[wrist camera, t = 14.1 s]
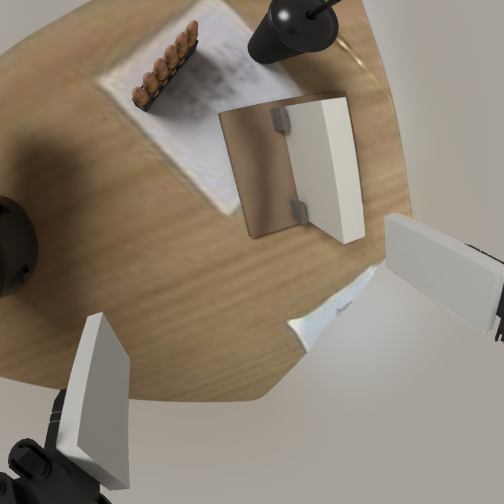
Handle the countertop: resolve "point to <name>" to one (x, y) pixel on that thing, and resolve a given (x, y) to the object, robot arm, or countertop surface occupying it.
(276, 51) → the drinking cup
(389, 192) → the countertop surface
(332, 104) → the door panel
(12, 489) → the robot arm
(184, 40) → the ammunition clip
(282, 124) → the clip board
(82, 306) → the countertop surface
